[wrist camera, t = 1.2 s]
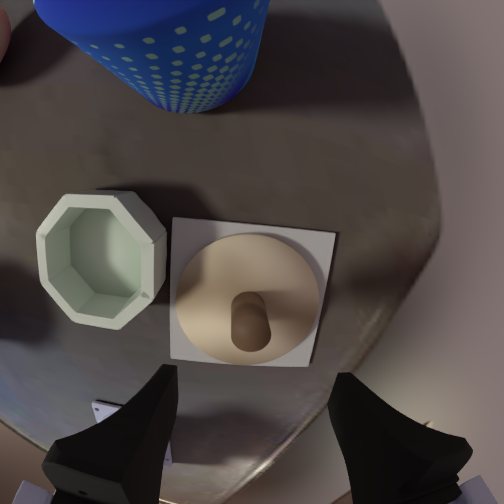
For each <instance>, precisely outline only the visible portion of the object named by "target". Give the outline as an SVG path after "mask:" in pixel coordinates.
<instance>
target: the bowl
mask: <svg viewBox="0 0 504 504" xmlns="http://www.w3.org/2000/svg"><path fill="white" fill-rule="evenodd" d="M36 242H37V256H38V266H39V276H40V282H42V283H41V285H42V286H43V287H44V288H45V290H46V291H47V292H48V293H49V294H50V296H51V297H52V298H53V299H54V300H55V302H56V303H57V304H58V305H59V306H60V307H61V309H62V310H63V311H64V312H65V313H66V314H67V315H68V317H69V318H70V319H71V320H72V321H73V320H74V322H76V323H81V324H87V325H92V326H97V327H103V328H109V329H115V330H118V329H121V328H122V327H123V326H124V325H125V324H126V323H128V322H129V321H130V320H131V319H132V318H133V317H135V316H136V315H137V314H138V313H139V312H140V311H142V310H143V309H144V308H145V307H146V306H147V305H149V304H150V303H151V302H152V301H153V300H154V298H155V296H156V295H157V293H158V291H159V290H160V288H161V286H162V285H163V283H164V281H165V279H166V262H167V232H166V229H165V228H164V226H163V225H162V224H161V223H160V222H159V220H158V218H157V216H156V215H155V214H154V212H153V211H152V210H151V209H150V208H149V207H148V206H147V205H146V204H145V203H144V202H143V201H142V200H141V199H140V198H139V197H138V195H137V194H136V193H135V192H133V191H118V190H85V191H80V192H74V193H69V194H66V195H64V196H63V197H62V198H61V199H60V201H59V202H58V203H57V204H56V206H55V207H54V208H53V210H52V211H51V212H50V214H49V215H48V216H47V218H46V219H45V220H44V222H43V223H42V224H41V226H40V227H39V228H38V230H37V233H36Z"/></svg>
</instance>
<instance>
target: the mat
mask: <svg viewBox="0 0 504 504" xmlns="http://www.w3.org/2000/svg"><path fill="white" fill-rule="evenodd" d="M237 233H259V234H265V235H268V236H272V237H275V238H277V239H279V240H281V241H283V242H285V243H287V244H288V245H290V246H291V247H293V248H294V249H295V250H296V251H297V252H298V253H299V254H300V255H301V256H302V257H303V258H304V259H305V261H306V262H307V264H308V265H309V267H310V268H311V270H312V272H313V274H314V276H315V278H316V282H317V285H318V291H319V306H318V312H317V316H316V319H315V321H314V324H313V326H312V328H311V330H310V331H309V333H308V334H307V336H306V337H305V338H304V339H303V341H302V342H301V343H300V344H299V345H298V346H296V347H295V348H294V349H293V350H291V351H290V352H288V353H287V354H285V355H284V356H282V357H279V358H277V359H275V360H272V361H269V362H266V363H261V364H255V366H285V367H308V365H309V361H310V357H311V353H312V349H313V345H314V340H315V336H316V332H317V327H318V323H319V318H320V314H321V309H322V304H323V300H324V295H325V290H326V285H327V280H328V274H329V269H330V264H331V258H332V252H333V247H334V241H335V234H336V233H334V232H326V231H317V230H308V229H299V228H290V227H280V226H270V225H260V224H250V223H239V222H229V221H217V220H206V219H194V218H182V217H173V221H172V241H171V269H170V348H171V358H173V359H181V360H190V361H200V362H210V363H223V364H231V363H226V362H223V361H220V360H217V359H215V358H213V357H211V356H209V355H207V354H205V353H204V352H202V351H201V350H200V349H199V348H197V347H196V346H195V345H194V344H193V343H192V342H191V341H190V340H189V338H188V337H187V335H186V334H185V333H184V331H183V329H182V327H181V325H180V322H179V320H178V317H177V312H176V302H175V299H176V290H177V286H178V282H179V280H180V277H181V275H182V273H183V271H184V269H185V267H186V266H187V264H188V262H189V261H190V260H191V259H192V257H193V256H194V255H195V254H196V253H197V252H198V251H199V250H200V249H202V248H203V247H205V246H206V245H207V244H209V243H211V242H213V241H215V240H216V239H219V238H222V237H224V236H228V235H232V234H237Z"/></svg>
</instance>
